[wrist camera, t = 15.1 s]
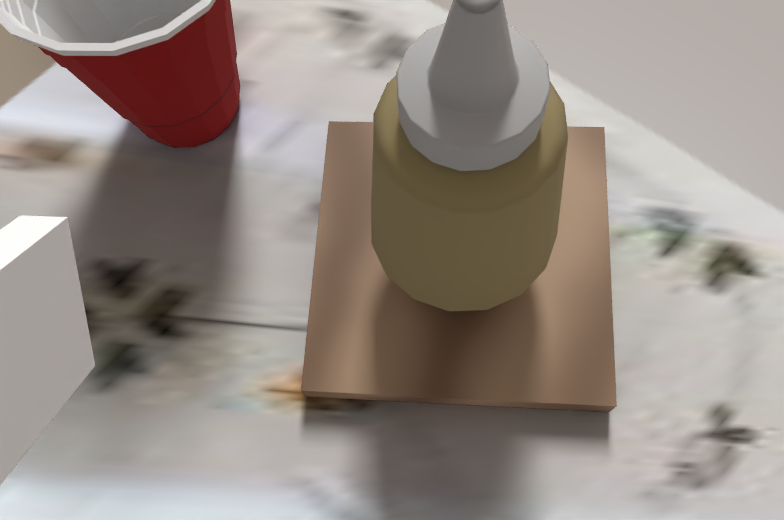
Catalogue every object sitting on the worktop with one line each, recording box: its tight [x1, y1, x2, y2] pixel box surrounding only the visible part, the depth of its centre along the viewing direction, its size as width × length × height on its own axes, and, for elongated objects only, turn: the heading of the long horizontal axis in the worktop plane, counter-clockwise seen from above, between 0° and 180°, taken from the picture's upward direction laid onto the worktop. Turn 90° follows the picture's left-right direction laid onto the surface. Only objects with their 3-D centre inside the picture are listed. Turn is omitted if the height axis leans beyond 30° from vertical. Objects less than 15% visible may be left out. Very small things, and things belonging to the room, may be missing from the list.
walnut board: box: [301, 121, 617, 412], centre depth 37 cm, size 14×14×2 cm
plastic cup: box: [0, 0, 240, 148], centre depth 36 cm, size 11×11×12 cm
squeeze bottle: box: [371, 0, 568, 311], centre depth 27 cm, size 8×8×18 cm
